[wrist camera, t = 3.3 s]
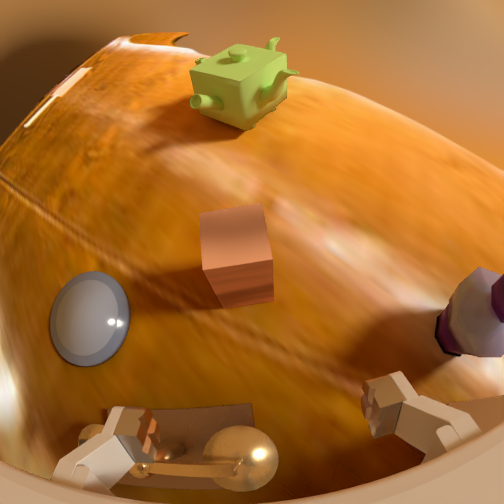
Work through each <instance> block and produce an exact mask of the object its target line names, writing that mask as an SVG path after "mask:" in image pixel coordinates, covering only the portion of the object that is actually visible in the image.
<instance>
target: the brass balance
mask: <svg viewBox="0 0 504 504" xmlns="http://www.w3.org/2000/svg"><path fill="white" fill-rule="evenodd" d="M111 410H112V409H107V414H108V417H109V414H110V412H111ZM151 411H152V413H153V416H152V419H154V420H155V421H157V423H158V425H159V428H160V442H159V444H157V445H156V446H155V448H156V450H157V454H156V458H155V462H154V464H152V463H135V464H134V465H133V466H132V467H131V468H130V469H129V470H128V471H127V472H126V474H125V475H124V476H123V477H122V478H121V479H120V480H119V481H118V482H117V483H119V484H126V485H134V486H144V487H155V488H170V489H228V490H232V491H237V492H247V491H252V490H256V489H258V488H260V487H262V486H264V485H265V484H267V483H268V482H269V481H270V480H271V479H272V477H273V476H274V474H275V473H276V470H277V467H278V452H277V448H276V446H275V444H274V442H273V441H272V440H271V438H270V437H269V436H268V435H266V434H265V433H264V432H262V431H261V430H259V429H256V428H255V424H254V417H253V410H252V404H251V403H248V404H239V405H230V406H219V407H207V408H191V409H166V410H151ZM104 426H105V425H103V424H91V425H88V426H86V427H85V428H84V429H83V430H82V431H81V433H80V435H79V438H78V447H79V446H81V445H82V444H83V443H85V442H86V441H88V440H89V439H91V438H92V437H93V436H95V435H96V434H98V433H100V434H101V432H102V430H103V428H104ZM73 450H75V449H73Z"/></svg>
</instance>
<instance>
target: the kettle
mask: <svg viewBox="0 0 504 504" xmlns="http://www.w3.org/2000/svg"><path fill="white" fill-rule="evenodd" d="M279 39H280V38H279V37H276V38H273V39H271V40H270V41H269V42H268V43H267V45H266V47H265V49H263V48H258V47H253V46H247V45H242V44H236V45H234V46H232V47H230V48H228V49H226V50H224V51H222V52H220V53H218V54H217V55H215V56H213V57H211V58H209V59H206V58H200V59H198V60H196V61H195V63H196V64H197V66H195V67H194V68H192V69H191V70H190V71H189V72H190V76H191V80H192V84H193V89H194V93H195V94H194V95H193V96H192V97H191V99H190V106H191V108H193V109H199V113H200V114H201V115H204V116H206V117H209V118H212V119H215V120H218V121H220V122H223V123H226V124H229V125H231V126H234V127H237V128H239V129H242V130H244V131H247V130H251V129H253V128H255V126H256V124H255V123H257V122H258V121H259V120H260V119H261V118H263V117H264V116H265V115H266V114H267V113H269V112H273V111H275V110H276V106H277V105H278V104H280V103H281V102H282V101H283V100H285V99H286V98H287V78H288V77H289V76H292V75H296V74H299V73H298V72H297V71H295V70H291V69H287V61H286V59H287V56H286V54H285V53H281V52H276V51H275V47H276V44H277V43H278V41H279Z"/></svg>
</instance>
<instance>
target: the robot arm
mask: <svg viewBox="0 0 504 504" xmlns="http://www.w3.org/2000/svg"><path fill="white" fill-rule="evenodd" d="M362 389H363V391H364V394H363V396H362V397H361V407H362V412H363V415H364V417H365V419H367V420H369V429H370V431H371V433H372V436H373V438H374V439H375V438H378V437H382V436H385V435H389V434H392V433H394V434H395V435H397V436H398V437H400V438H402V439H403V440H405V441H406V442H408V443H409V444H411V445H412V446H414V447H416V448H417V449H419V450H420V451H422V452H424V453H425V454H426V455H425V457H424V459H423V461H422V463H421V464H420V465H418V466H415V467H413V468H410V469H407V470H405V471H402V472H399V473H397V474H394V475H391V476H388V477H385V478H382V479H379V480H376V481H373V482H369V483H366V484H362V485H359V486H355V487H351V488H348V489H344V490H339V491H335V492H331V493H326V494H321V495H316V496H311V497H305V498H299V499H293V500H286V501H278V502H269V503H259V504H504V421H502V422H501V423H499V424H498V425H496V426H495V427H493V428H491V429H490V430H488V431H486V432H485V433H483V432H482V431H481V430H480V428H479V427H478V425H477V424H476V423H475V421H474V420H473V419H472V417H471V416H470V415H469V414H468V413H466V412H463V411H460V410H458V409H455V408H453V407H450V406H448V405H445V404H442V403H440V402H437V401H435V400H433V399H430V398H428V397H425V396H423V395H421V396H418V395H417V393H416V392H415V390H414V389H413V387H412V386H411V384H410V383H409V381H408V380H407V379H406V377H405V376H404V374H403V373H402V372H401V371H398V372H394V373H391V374H388V375H385V376H381V377H378V378H374V379H370V380H367V381H364V383H363V388H362ZM152 416H153V413H152V411H151V409H150V408H141V407H120V406H115V407H113V408H112V410H111V412H110V414H109V417H108V419H107V421H106V423H105V426H104V428H103V430H102V432H101V434H100V433H98V434H96V435H95V436H93V437H92V438H91V439H89V440H88V441H86V442H85V443H83V444H82V445H81V446H79V447H78V448H76V449H75V450H73V451H72V452H70V453H69V454H67V455H66V456H64V457H63V458H61V459H60V460H59V462H58V464H57V466H56V468H55V471H54V473H53V475H52V477H51V479H50V480H48V479H45V478H42V477H39V476H36V475H33V474H31V473H28V472H26V471H23V470H21V469H18V468H16V467H13V466H11V465H9V464H6V463H4V462H2V461H0V504H164V503H154V502H145V501H138V500H131V499H125V498H119V497H116V496H115V495H114V494H113V493H112V492H111V491H110V489H111V488H112V487H113V486H114V485H115V484H116V483H117V482H118V481H119V480H120V479H121V478H122V477H123V476H124V475H125V474H126V472H127V471H128V470H129V469H130V468H131V467H132V466H133V465H134V464H135V463H152V464H154V462H155V458H156V454H157V450H156V448H155V446H156V445H157V444H159V442H160V428H159V425H158V423H157V421H155V420H154V419H152Z"/></svg>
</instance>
